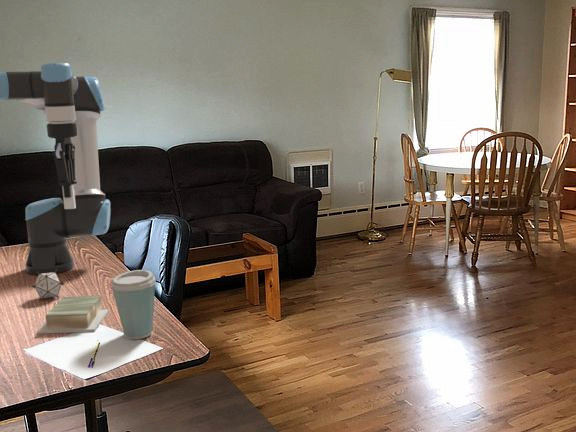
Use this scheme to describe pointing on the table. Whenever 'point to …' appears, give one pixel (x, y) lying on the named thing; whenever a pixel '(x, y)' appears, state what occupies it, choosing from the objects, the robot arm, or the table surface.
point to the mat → (91, 328)
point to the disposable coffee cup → (135, 302)
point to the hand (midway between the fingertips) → (70, 208)
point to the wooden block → (74, 312)
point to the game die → (48, 285)
